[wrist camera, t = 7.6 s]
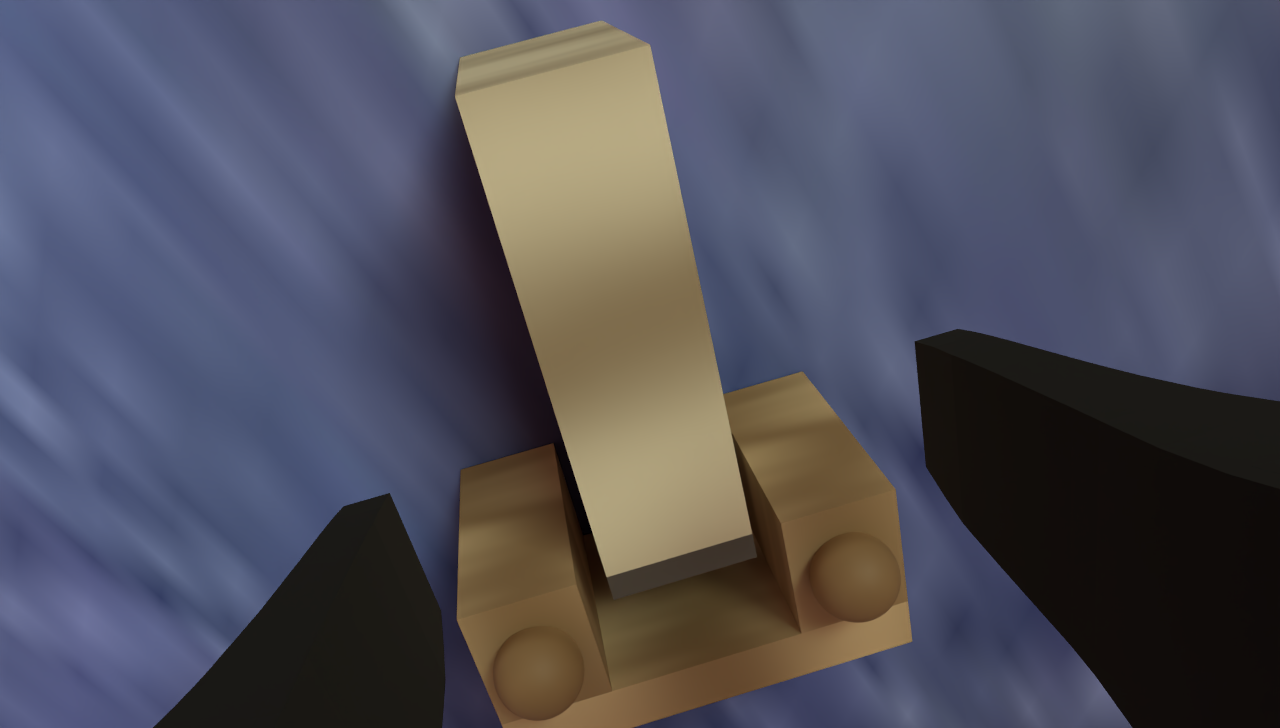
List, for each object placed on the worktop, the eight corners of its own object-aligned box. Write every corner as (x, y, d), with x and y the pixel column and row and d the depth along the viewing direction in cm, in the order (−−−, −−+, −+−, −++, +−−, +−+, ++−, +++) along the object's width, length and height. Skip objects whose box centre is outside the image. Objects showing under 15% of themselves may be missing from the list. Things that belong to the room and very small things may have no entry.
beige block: (695, 425, 22) (757, 556, 17) (582, 457, 22) (613, 600, 17) (601, 20, 18) (650, 45, 13) (459, 57, 18) (454, 96, 13)
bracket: (509, 594, 24) (520, 816, 18) (460, 469, 22) (455, 669, 16) (822, 501, 24) (940, 686, 18) (802, 371, 22) (925, 527, 16)
